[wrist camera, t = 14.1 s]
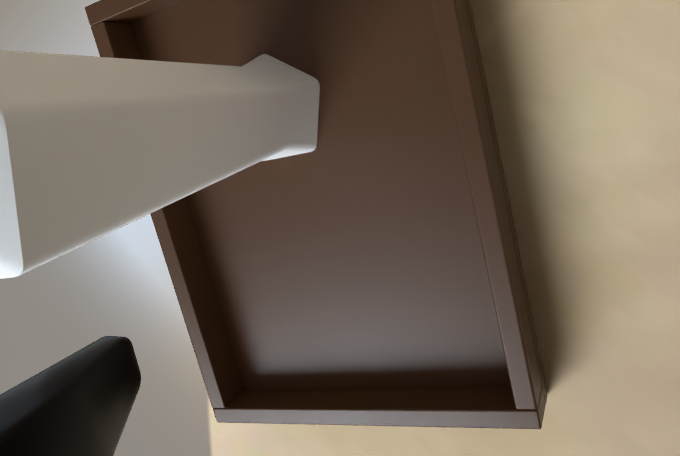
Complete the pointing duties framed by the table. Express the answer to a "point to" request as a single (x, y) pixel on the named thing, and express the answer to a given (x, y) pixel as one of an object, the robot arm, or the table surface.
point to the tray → (350, 222)
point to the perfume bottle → (131, 140)
